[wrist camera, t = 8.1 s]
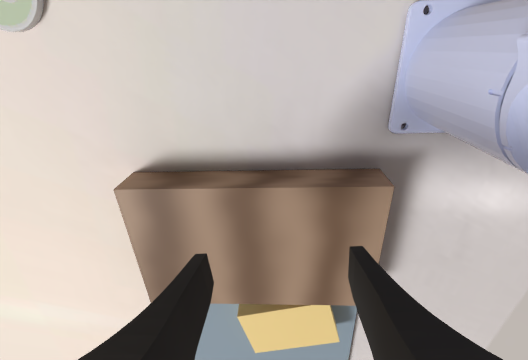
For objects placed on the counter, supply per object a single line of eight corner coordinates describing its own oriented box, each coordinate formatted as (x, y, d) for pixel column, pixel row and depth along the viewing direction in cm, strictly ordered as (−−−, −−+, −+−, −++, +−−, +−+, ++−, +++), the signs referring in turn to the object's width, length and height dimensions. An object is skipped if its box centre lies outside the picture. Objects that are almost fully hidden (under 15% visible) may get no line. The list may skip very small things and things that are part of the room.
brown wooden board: (379, 168, 21) (394, 186, 18) (360, 279, 26) (370, 305, 24) (133, 172, 22) (113, 189, 19) (163, 277, 27) (150, 302, 25)
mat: (359, 283, 27) (361, 286, 26) (345, 369, 33) (345, 373, 33) (164, 281, 28) (162, 284, 27) (188, 365, 34) (187, 368, 34)
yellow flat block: (325, 285, 26) (328, 302, 25) (335, 323, 29) (339, 341, 27) (239, 299, 28) (237, 316, 26) (256, 335, 30) (255, 353, 29)
